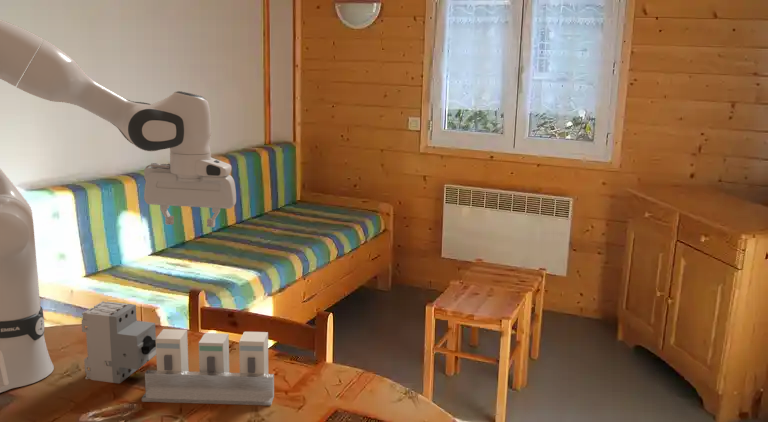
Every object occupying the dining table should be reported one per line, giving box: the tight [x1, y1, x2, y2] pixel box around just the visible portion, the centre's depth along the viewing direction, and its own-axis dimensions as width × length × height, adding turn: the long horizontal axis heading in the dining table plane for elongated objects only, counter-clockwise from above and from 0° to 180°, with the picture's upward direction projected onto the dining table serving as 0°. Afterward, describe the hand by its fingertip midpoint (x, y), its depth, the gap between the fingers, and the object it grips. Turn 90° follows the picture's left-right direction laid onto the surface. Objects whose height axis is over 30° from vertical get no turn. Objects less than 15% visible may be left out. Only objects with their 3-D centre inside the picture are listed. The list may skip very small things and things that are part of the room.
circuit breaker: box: [81, 300, 157, 384], centre depth 151 cm, size 8×14×15 cm, turn 78°
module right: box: [238, 331, 269, 374], centre depth 146 cm, size 5×6×12 cm
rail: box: [141, 369, 275, 406], centre depth 143 cm, size 26×4×5 cm, turn 89°
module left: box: [155, 328, 190, 371], centre depth 146 cm, size 5×6×12 cm
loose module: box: [198, 332, 230, 373], centre depth 147 cm, size 5×6×11 cm
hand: (190, 225), depth 161 cm, fingers open, 8 cm apart
